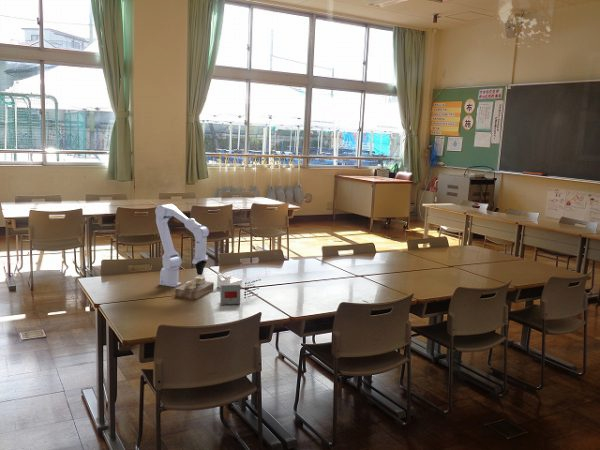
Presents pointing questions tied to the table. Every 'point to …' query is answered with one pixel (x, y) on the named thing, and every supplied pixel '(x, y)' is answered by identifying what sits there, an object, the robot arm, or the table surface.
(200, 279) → the peg
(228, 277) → the bracket
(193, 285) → the peg
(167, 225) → the robot arm
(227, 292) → the voltmeter
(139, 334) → the table surface
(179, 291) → the band block
